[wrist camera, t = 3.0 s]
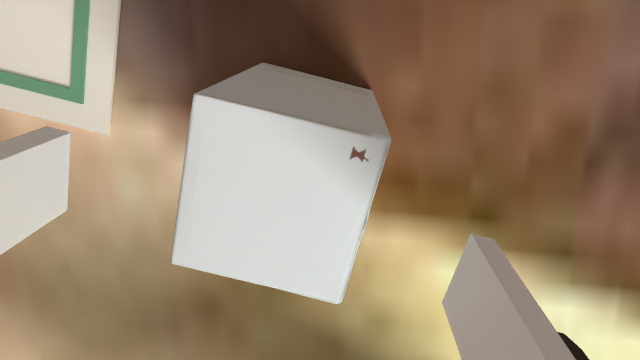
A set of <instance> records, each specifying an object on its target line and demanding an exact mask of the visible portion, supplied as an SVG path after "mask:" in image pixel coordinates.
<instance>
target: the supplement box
mask: <svg viewBox="0 0 640 360" xmlns="http://www.w3.org/2000/svg"><path fill="white" fill-rule="evenodd" d="M390 143H391V137H390V134H389V132H388V129H387V127H386V124H385V122H384V119H383V116H382V114H381V111H380V109H379V106H378V104H377V101H376V99H375V96H374V93H373V91H372V90H369V89H365V88H361V87H357V86H353V85H349V84H345V83H342V82H338V81H334V80H330V79H326V78H323V77H319V76H315V75H311V74H307V73H303V72H299V71H295V70H291V69H287V68H283V67H279V66H275V65H271V64H267V63H260V64H258V65H256V66H254V67H252V68H250V69H247V70H245V71H243V72H241V73H239V74H236V75H234V76H232V77H230V78H228V79H225V80H223V81H221V82H219V83H217V84H215V85H212V86H210V87H208V88H206V89H204V90H201V91H199V92H197V93H195V94H194V96H193V101H192V108H191V114H190V121H189V128H188V134H187V142H186V150H185V158H184V165H183V172H182V180H181V187H180V195H179V202H178V210H177V218H176V226H175V234H174V242H173V251H172V258H171V263H172V264H175V265H179V266H183V267H187V268H191V269H196V270H200V271H204V272H208V273H212V274H217V275H221V276H225V277H229V278H234V279H238V280H242V281H246V282H251V283H255V284H259V285H264V286H268V287H272V288H276V289H280V290H283V291H287V292H291V293H295V294H299V295H302V296H306V297H310V298H314V299H318V300H322V301H326V302H329V303H333V304H340V303H341V301H342V300H343V297H344V294H345V291H346V288H347V284H348V281H349V278H350V274H351V271H352V268H353V264H354V261H355V258H356V254H357V251H358V248H359V245H360V241H361V238H362V235H363V232H364V229H365V226H366V223H367V220H368V216H369V211H370V208H371V205H372V201H373V198H374V195H375V191H376V188H377V185H378V182H379V178H380V175H381V172H382V169H383V165H384V162H385V159H386V156H387V153H388V150H389V147H390Z"/></svg>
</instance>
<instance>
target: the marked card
mask: <svg viewBox="0 0 640 360" xmlns="http://www.w3.org/2000/svg"><path fill="white" fill-rule="evenodd" d="M120 10H121V0H0V108H2V109H6V110H9V111H13V112H17V113H21V114H25V115H29V116H33V117H37V118H41V119H45V120H49V121H53V122H57V123H61V124H65V125H69V126H73V127H77V128H81V129H85V130H88V131H92V132H96V133H100V134H104V135H110V129H111V117H112V105H113V93H114V81H115V69H116V57H117V45H118V34H119V22H120Z"/></svg>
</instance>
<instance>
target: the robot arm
mask: <svg viewBox="0 0 640 360" xmlns="http://www.w3.org/2000/svg"><path fill="white" fill-rule="evenodd" d="M70 138H71V132H67V131H63V130H59V129H55V128H51V127H44V128H41V129H38V130H35V131H32V132H29V133H26V134H23V135H20V136H18V137H15V138H12V139H9V140H6V141H3V142H0V255H1V254H2V253H4V252H5V251H7V250H8V249H10V248H11V247H13V246H14V245H16V244H17V243H19V242H20V241H22V240H23V239H25V238H26V237H28V236H29V235H31V234H32V233H34V232H35V231H37V230H38V229H40V228H41V227H43V226H44V225H46V224H47V223H49V222H50V221H52V220H53V219H55V218H56V217H58V216H59V215H61V214H62V213H64V212H65V211H67V207H68V184H69V161H70ZM442 304H443V307H444V309H445V312H446V315H447V318H448V321H449V324H450V327H451V330H452V333H453V336H454V339H455V341H456V344H457V347H458V350H459V353H460V356H461V359H462V360H589V359H588V357H587V356H586V355H585V353H584V352H583V351H582V349H580V348H579V347H578V346H577V345H576V344H575V343H574V342H573V341H572V340H571V339H569V338H568V337H567V336H566V335H565V334H563V333H559V332H557V331H556V330H555V328H554V327H553V325H552V324H551V323H550V321H549V320H548V318H547V317H546V315H545V314H544V312H543V311H542V309H541V308H540V306H539V305H538V304H537V302H536V301H535V299H534V298H533V296H532V295H531V293H530V292H529V290H528V289H527V287H526V286H525V284H524V283H523V282H522V280H521V279H520V277H519V276H518V274H517V273H516V271H515V270H514V268H513V267H512V265H511V264H510V263H509V261H508V260H507V258H506V257H505V255H504V254H503V252H502V251H501V249H500V248H499V246H498V245H497V243H496V242H495V241H494V239H491V238H487V237H483V236H479V235H475V234H471V235H470V237H469V239H468V242H467V244H466V247H465V249H464V251H463V254H462V256H461V258H460V261H459V263H458V266H457V268H456V270H455V273H454V275H453V278H452V280H451V282H450V285H449V287H448V290H447V292H446V294H445V297H444V299H443V302H442Z"/></svg>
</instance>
